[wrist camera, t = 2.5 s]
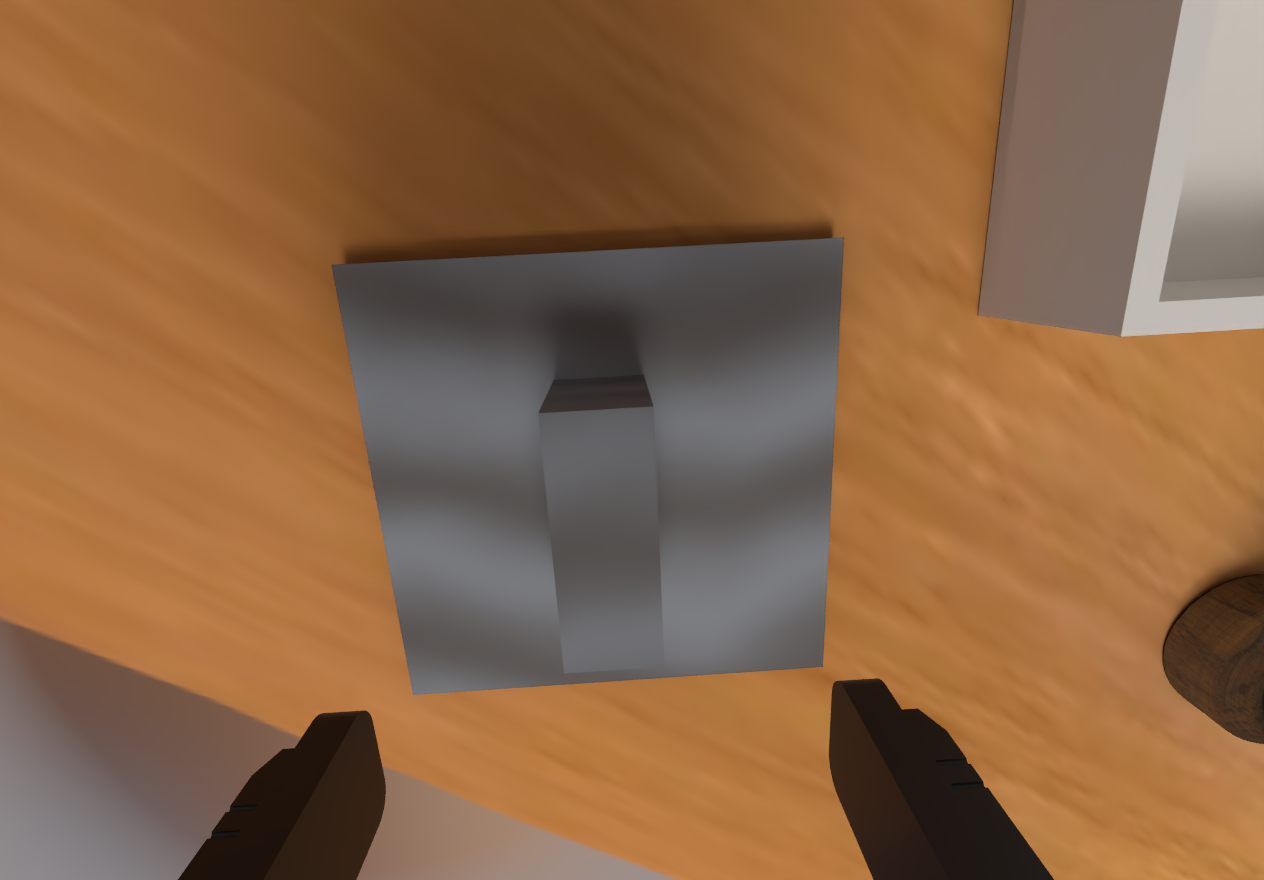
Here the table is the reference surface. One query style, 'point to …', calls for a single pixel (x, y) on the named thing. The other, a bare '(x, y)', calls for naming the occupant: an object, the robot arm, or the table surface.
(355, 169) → the table surface
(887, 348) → the table surface
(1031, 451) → the table surface
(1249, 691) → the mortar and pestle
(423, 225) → the table surface
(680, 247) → the lid
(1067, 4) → the white storage bin
